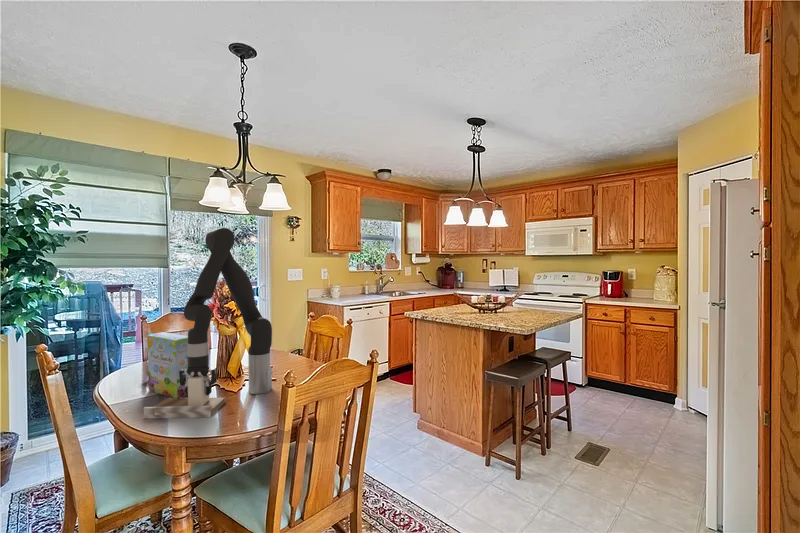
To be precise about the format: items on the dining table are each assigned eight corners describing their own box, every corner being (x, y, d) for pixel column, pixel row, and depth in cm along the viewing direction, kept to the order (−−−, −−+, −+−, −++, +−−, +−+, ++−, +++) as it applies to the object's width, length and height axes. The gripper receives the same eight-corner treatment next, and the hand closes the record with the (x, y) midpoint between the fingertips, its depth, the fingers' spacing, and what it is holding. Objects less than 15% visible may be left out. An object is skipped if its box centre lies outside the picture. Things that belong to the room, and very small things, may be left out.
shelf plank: (225, 402, 160) (225, 392, 160) (209, 417, 145) (209, 407, 145) (166, 403, 159) (165, 393, 159) (143, 418, 144) (143, 408, 144)
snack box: (146, 391, 173) (145, 334, 173) (165, 385, 181) (165, 331, 180) (176, 400, 163) (175, 339, 162) (195, 393, 171) (194, 335, 170)
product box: (209, 399, 158) (208, 373, 157) (201, 406, 151) (200, 378, 150) (196, 400, 157) (196, 373, 157) (187, 406, 150) (187, 378, 150)
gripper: (220, 351, 158) (220, 391, 158) (184, 351, 157) (184, 392, 157) (212, 356, 150) (212, 398, 151) (174, 356, 149) (175, 398, 150)
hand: (198, 395), depth 154 cm, fingers open, 7 cm apart
